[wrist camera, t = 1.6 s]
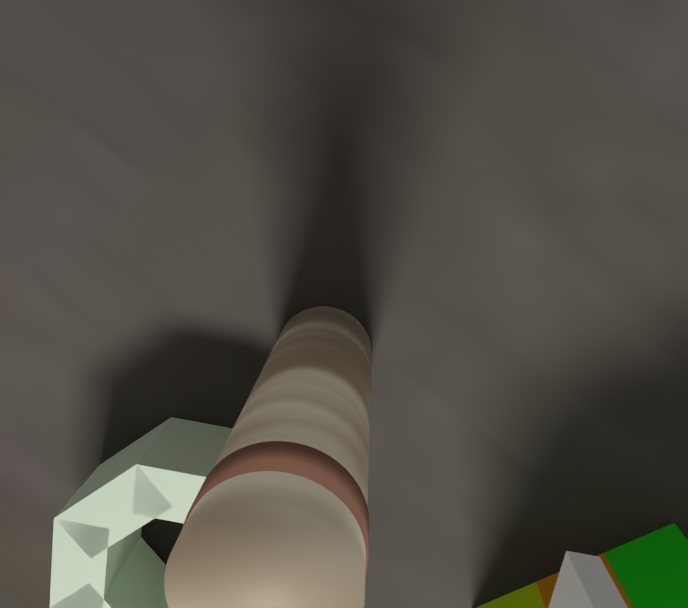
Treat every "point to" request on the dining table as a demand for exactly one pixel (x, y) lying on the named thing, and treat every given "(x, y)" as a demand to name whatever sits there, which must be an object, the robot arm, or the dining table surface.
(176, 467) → the bead
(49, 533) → the dining table surface
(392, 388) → the dining table surface
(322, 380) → the striped rounded cylinder
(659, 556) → the puzzle toy
